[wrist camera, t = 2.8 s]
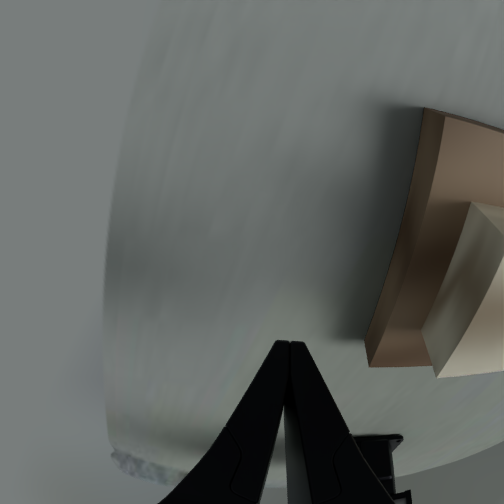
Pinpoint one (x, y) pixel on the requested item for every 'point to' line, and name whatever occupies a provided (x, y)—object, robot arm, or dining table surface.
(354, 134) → the dining table surface
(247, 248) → the dining table surface
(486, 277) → the birch tile
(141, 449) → the dining table surface
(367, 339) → the walnut board
